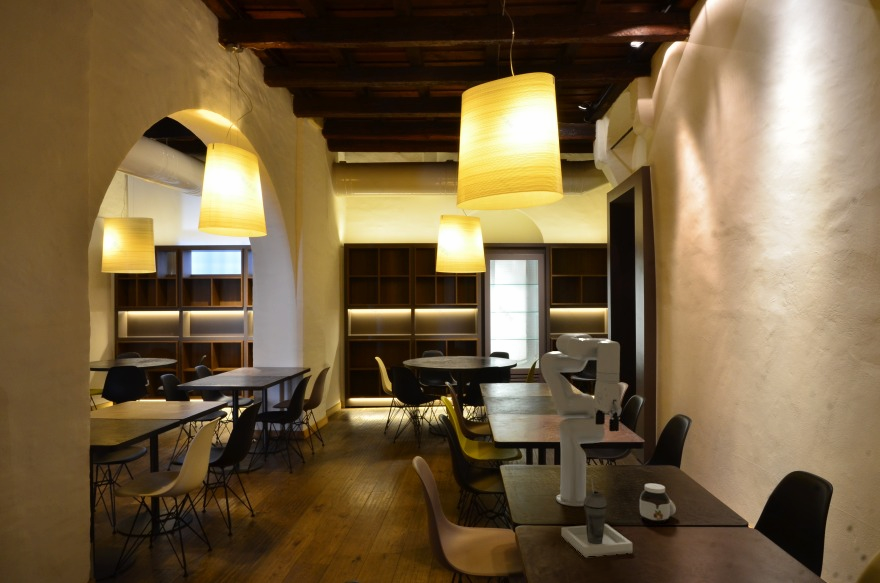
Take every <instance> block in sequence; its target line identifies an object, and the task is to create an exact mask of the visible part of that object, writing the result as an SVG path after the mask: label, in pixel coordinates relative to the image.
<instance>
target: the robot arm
mask: <svg viewBox="0 0 880 583" xmlns="http://www.w3.org/2000/svg"><path fill="white" fill-rule="evenodd" d="M555 346H556V349H557V351H549V352H546V353H544V354H543V355H542V357H541V358H540V371H541V374H542V377H543V379H544V381H545V383H546V384H547V387H548V389H549V391H550V394H551V399H552V400H553V404H554V408H555V410H556V413H557V415H558V416H559V418H561V419H563V420H561V421H560V422H559V424H558V427H557V428H558V437H559V443H560V486H559V489H560V490H559V491H560V494H558V495H556V497H555V499H556V501H557V502H558V503H559V504H561V505H565V506H568V507H584V500H585V497H586V495H587V454H586V452H585V451H584V449H583V448H582V447H581V444H595V443H596V444H597V443H601V442H602V441H604V439H605V434H606V429H605V423H606V414H607V413H608V414H609V418H610V419H609V418H608V420H609V423H608V424H609V425H608V428H609V430H608V431H609V432H619V431H620V419H621V415H622V414H621V413H622V410H623V409H622V406H621V405H620V404H621V402H620V401H621V400H620V398H621V397H620V387H619V386H620V385H619V384H620V370H621V369H620V366H621V363H620V362H621V361H620V359H621V356H620V355H621V354H620V353H621V345H620V343H619V342H618V341H613V340H610V339H608V338H593V337H592V336H591V335H590V334H588V333H563V334H561V335H560V336H558V338H557V339H556V342H555ZM588 361H596V375H595V378H596V380H595V385H594V392H593V393H594V394H593V395H594V396H592V395H590V394H588V393H576V392H574V391H573V388H572V387H573V386H572V385H571V383H570V381H569V380H568V379H567V378H566V377H565V376H564V375H562V374H561V373H578V372H579V373H580V372H581V371H584V369H585V368H586V366H587V364H588Z"/></svg>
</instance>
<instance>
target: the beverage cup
mask: <svg viewBox="0 0 880 583" xmlns="http://www.w3.org/2000/svg"><path fill="white" fill-rule="evenodd" d="M590 483H591V491H590V492H588V493H586V497H585V500H584V506H583V509H584V513H585V514H584V515H585V526H586V529H587V539H588V542H589V543H591V544H601V543H602V540H603V533H604V524H605V520H606V514H607V513H606V512H607V508H608V504H607V503H608V502H607V500H606V497H605V495H603V494H602V493H601V492H599V491H596V490H595V489H594V478H593V477H590Z"/></svg>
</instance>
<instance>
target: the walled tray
mask: <svg viewBox="0 0 880 583" xmlns="http://www.w3.org/2000/svg"><path fill="white" fill-rule="evenodd" d="M561 536H562V537H563V538H564V540H565V542H567V543H568V542H569V543H570V544H571V545H572V546H573V547H574V548H575V549H576V551H577V550H578V551H579V552H580V553H581V554H582V555H583V556H584V557H585V558H589V557H588V556H596V557H604V556H603V555H607V556H617V555H616V554H618V555H626V553H628V554H633V547H634V546H633V545H634V544H633V542H632V541H631V540H629V539H627V538H626V537H625V536H623V535H622V534H621V533H619V532H618V531H617V530H615V528H613V527H611V525H609V524H608V523H604V533H603V540H602V543H601V544H591V543H589V542H588V539H587V529H586V525H575V526H574V525H573V526H566V527H565V526H564V527H563V526H562V527H561ZM562 537H561V538H562ZM563 538H562V539H563ZM569 543H568V544H569ZM570 544H569V545H570ZM571 545H570V546H571ZM572 546H571V547H572ZM573 547H572V548H573ZM574 548H573V549H574ZM575 549H574V550H575ZM578 551H577V552H578ZM579 552H578V553H579ZM580 553H579V554H580ZM581 554H580V555H581ZM582 555H581V556H582ZM583 556H582V557H583ZM584 557H583V558H584Z"/></svg>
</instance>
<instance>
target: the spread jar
mask: <svg viewBox="0 0 880 583" xmlns="http://www.w3.org/2000/svg"><path fill="white" fill-rule="evenodd" d="M639 496H640V497H639V514H640V516H641V517H642V518H643V519H644V520H645V521H648V522H649V521H650V522H649V523H653V522H656V523H655V524H662V523H661V522H663V523H664V522H667V520H668V519H669V518H670V517H672V516H673V515H674V514H675V513H676V511H677V510H676V509H677V507H676V504H675V503H674V501H672V500H671V499H670V497H669V496H668V494H667V493H666V486H664V485H662V484H659V483H650V482H649V483H645V484H644V490H643V491H642V492H641V494H640V495H639Z"/></svg>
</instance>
